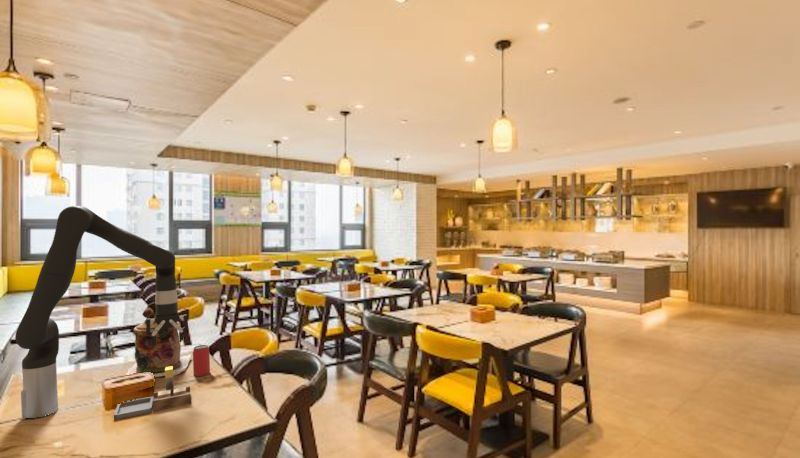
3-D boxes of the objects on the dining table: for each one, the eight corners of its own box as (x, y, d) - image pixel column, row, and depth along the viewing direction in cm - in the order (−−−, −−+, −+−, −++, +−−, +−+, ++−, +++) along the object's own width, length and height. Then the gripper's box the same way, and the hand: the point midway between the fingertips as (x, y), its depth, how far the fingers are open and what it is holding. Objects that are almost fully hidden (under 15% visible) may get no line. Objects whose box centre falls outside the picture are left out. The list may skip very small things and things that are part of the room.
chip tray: (113, 420, 143) (113, 415, 143) (118, 406, 154) (118, 402, 154) (151, 412, 148) (151, 408, 148) (153, 400, 159) (153, 396, 159)
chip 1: (157, 401, 153) (157, 395, 153) (158, 397, 156) (158, 391, 156) (170, 399, 155) (170, 393, 155) (170, 395, 158) (170, 389, 158)
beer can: (198, 377, 182) (197, 349, 182) (190, 374, 186) (189, 347, 186) (213, 373, 187) (212, 346, 187) (205, 370, 191) (204, 343, 191)
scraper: (165, 396, 163) (164, 370, 162) (166, 392, 166) (165, 367, 166) (173, 395, 164) (172, 369, 164) (173, 391, 168) (172, 365, 167)
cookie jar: (136, 365, 202) (133, 297, 201) (193, 358, 209) (190, 293, 209) (118, 383, 178) (115, 307, 178) (183, 375, 186) (181, 302, 185)
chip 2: (173, 398, 155) (173, 392, 155) (173, 394, 159) (173, 389, 159) (185, 396, 157) (185, 390, 157) (185, 392, 160) (185, 386, 160)
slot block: (152, 411, 150) (152, 401, 150) (154, 401, 158) (153, 392, 158) (190, 403, 155) (190, 394, 155) (190, 394, 164) (190, 385, 164)
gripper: (144, 305, 158) (146, 348, 158) (187, 301, 165) (188, 342, 165) (145, 302, 165) (147, 344, 165) (186, 298, 171) (188, 338, 172)
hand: (168, 343), depth 165 cm, fingers open, 8 cm apart
